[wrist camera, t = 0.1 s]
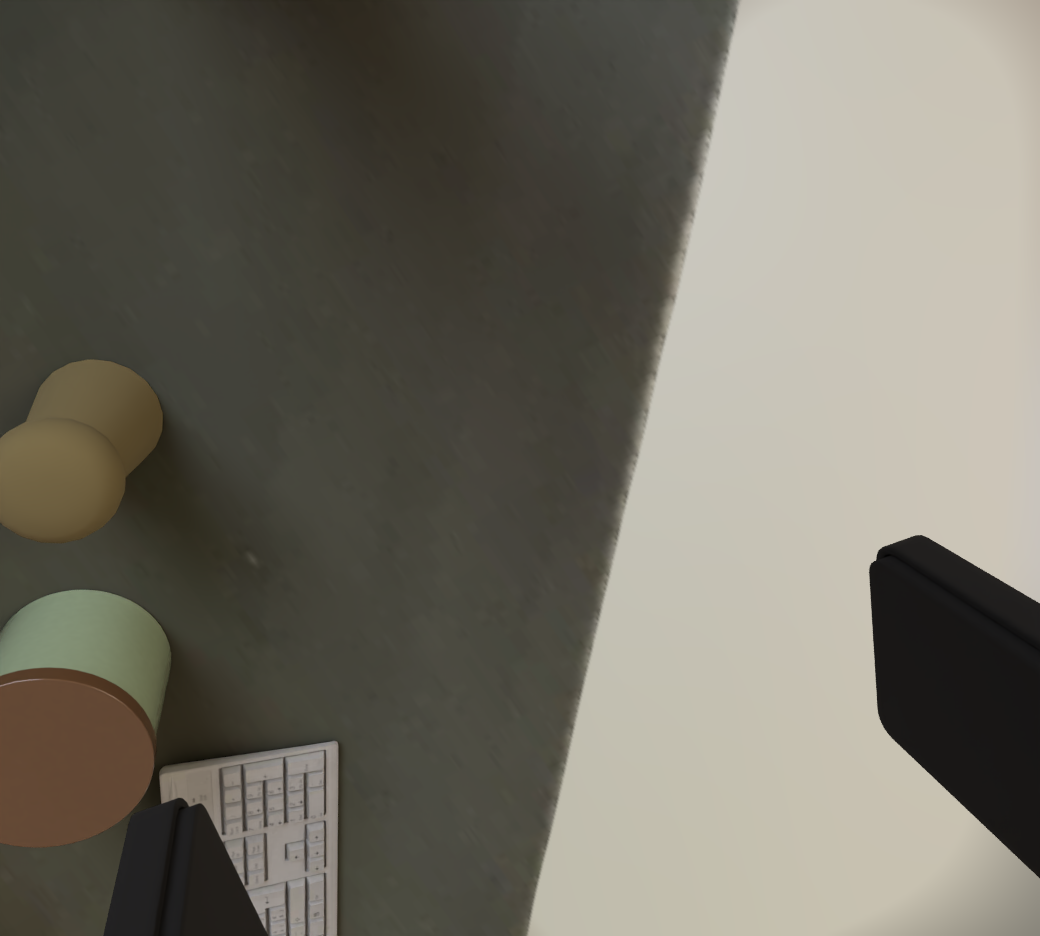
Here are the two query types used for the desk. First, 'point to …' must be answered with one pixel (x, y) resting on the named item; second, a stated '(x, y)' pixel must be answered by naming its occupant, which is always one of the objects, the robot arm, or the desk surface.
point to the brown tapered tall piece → (76, 451)
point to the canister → (77, 715)
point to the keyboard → (274, 828)
